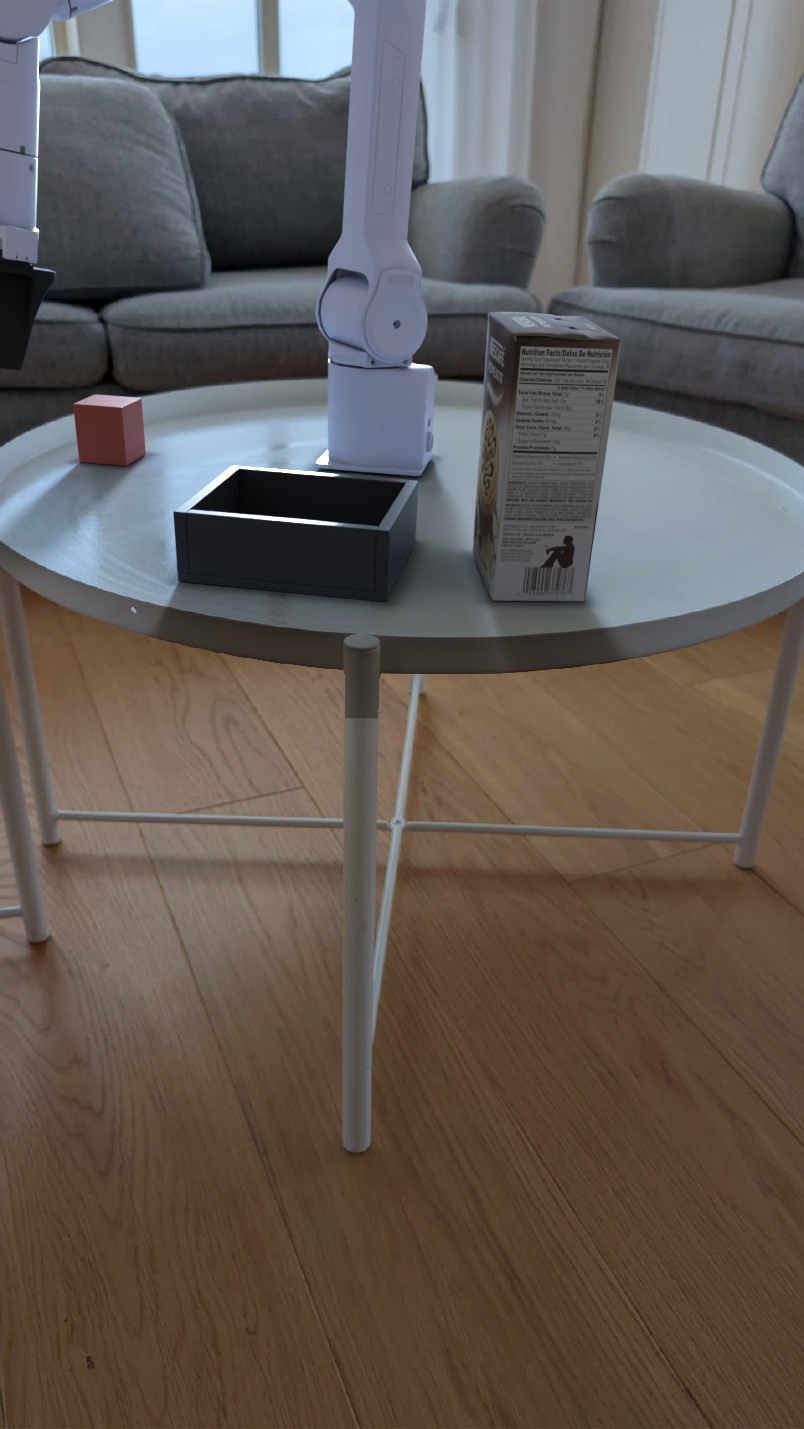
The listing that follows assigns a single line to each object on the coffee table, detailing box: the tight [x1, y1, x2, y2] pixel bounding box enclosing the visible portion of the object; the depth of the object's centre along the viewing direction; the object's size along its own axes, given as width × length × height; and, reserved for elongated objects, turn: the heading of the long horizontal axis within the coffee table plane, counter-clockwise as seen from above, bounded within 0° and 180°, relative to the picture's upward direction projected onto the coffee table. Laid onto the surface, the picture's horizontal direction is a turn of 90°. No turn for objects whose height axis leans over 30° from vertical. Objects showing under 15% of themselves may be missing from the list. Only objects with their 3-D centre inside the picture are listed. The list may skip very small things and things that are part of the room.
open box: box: [172, 464, 419, 603], centre depth 69 cm, size 14×12×5 cm
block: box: [72, 394, 147, 467], centre depth 90 cm, size 4×4×5 cm
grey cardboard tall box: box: [472, 311, 622, 602], centre depth 65 cm, size 9×6×16 cm
